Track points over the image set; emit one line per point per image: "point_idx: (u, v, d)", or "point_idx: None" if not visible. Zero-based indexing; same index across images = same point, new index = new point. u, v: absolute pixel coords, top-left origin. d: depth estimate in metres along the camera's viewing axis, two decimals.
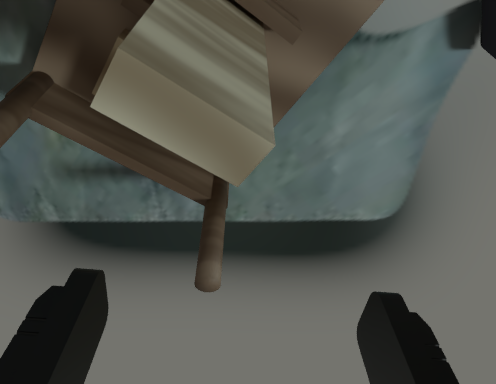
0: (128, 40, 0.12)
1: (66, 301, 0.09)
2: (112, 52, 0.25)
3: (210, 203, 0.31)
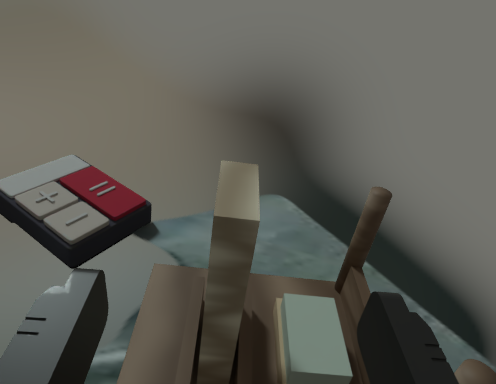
0: None
1: (66, 301, 0.09)
2: None
3: (352, 261, 0.35)
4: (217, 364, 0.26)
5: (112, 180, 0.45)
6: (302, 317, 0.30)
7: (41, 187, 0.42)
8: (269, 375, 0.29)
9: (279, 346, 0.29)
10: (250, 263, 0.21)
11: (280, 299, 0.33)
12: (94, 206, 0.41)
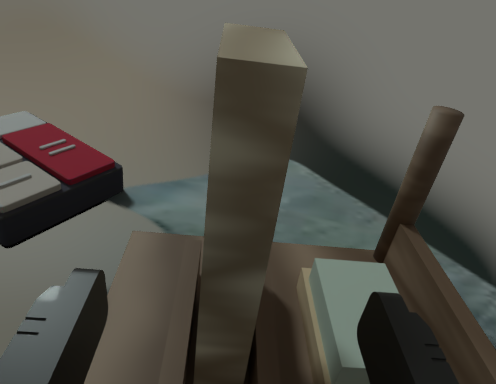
0: None
1: (66, 301, 0.09)
2: None
3: (402, 217, 0.25)
4: (224, 361, 0.17)
5: (72, 138, 0.35)
6: (346, 288, 0.20)
7: None
8: (301, 375, 0.19)
9: (313, 332, 0.20)
10: (285, 168, 0.11)
11: (308, 269, 0.24)
12: (44, 167, 0.31)
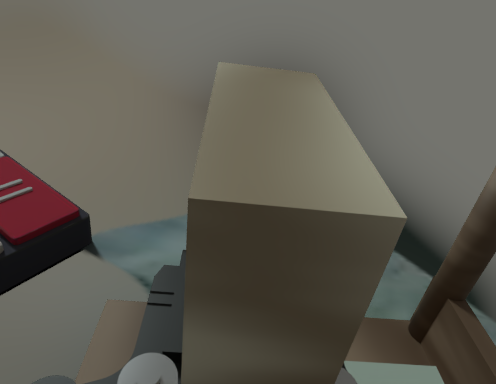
0: None
1: None
2: None
3: (452, 291, 0.20)
4: None
5: (32, 177, 0.28)
6: None
7: None
8: None
9: None
10: (333, 376, 0.06)
11: None
12: None
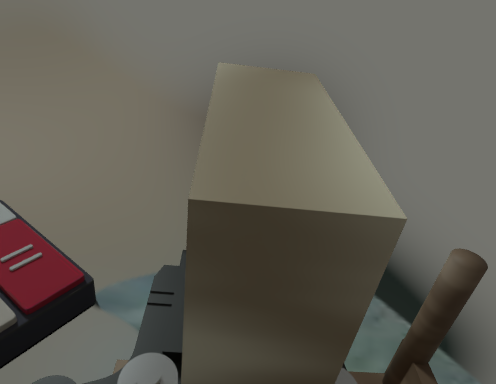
0: None
1: None
2: None
3: (416, 356, 0.23)
4: None
5: (41, 242, 0.31)
6: None
7: None
8: None
9: None
10: (333, 377, 0.06)
11: None
12: (1, 289, 0.27)
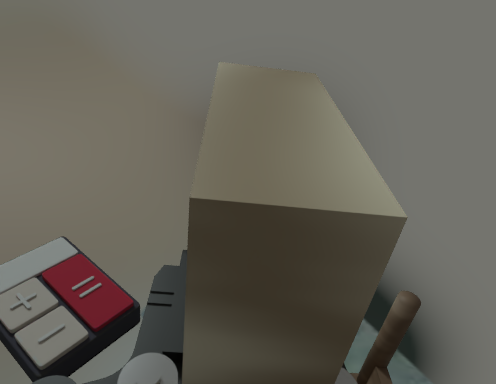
0: (188, 248, 0.04)
1: None
2: None
3: (377, 362, 0.33)
4: None
5: (99, 273, 0.41)
6: None
7: (19, 287, 0.38)
8: None
9: None
10: (334, 375, 0.06)
11: None
12: (75, 311, 0.37)
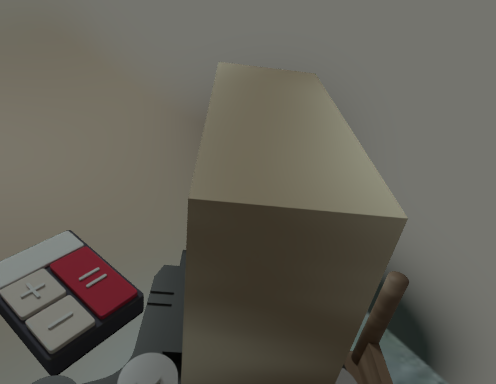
0: None
1: None
2: None
3: (370, 338, 0.36)
4: None
5: (104, 265, 0.43)
6: None
7: (29, 277, 0.40)
8: None
9: None
10: (333, 377, 0.06)
11: None
12: (82, 300, 0.39)
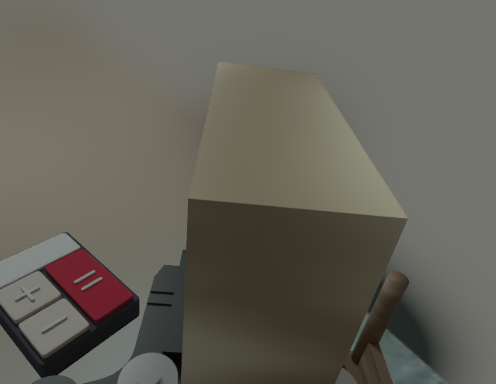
0: None
1: None
2: None
3: (370, 338, 0.36)
4: None
5: (100, 268, 0.42)
6: None
7: (24, 279, 0.39)
8: None
9: None
10: (333, 377, 0.06)
11: None
12: (76, 304, 0.39)
